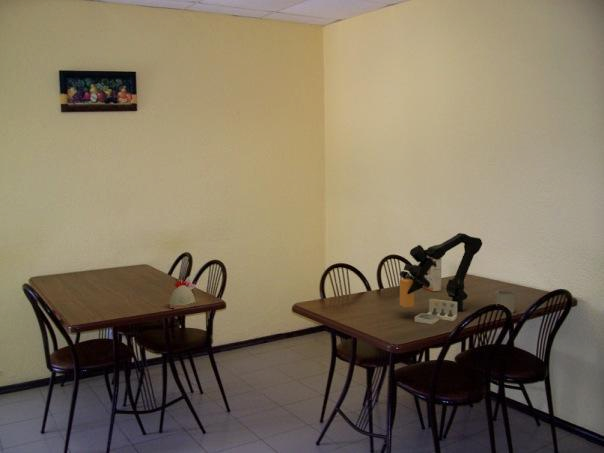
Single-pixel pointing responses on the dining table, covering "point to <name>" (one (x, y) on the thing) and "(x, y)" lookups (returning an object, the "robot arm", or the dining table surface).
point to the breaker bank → (443, 309)
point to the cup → (506, 299)
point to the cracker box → (434, 276)
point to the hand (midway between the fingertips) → (404, 292)
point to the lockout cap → (405, 298)
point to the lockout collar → (431, 320)
